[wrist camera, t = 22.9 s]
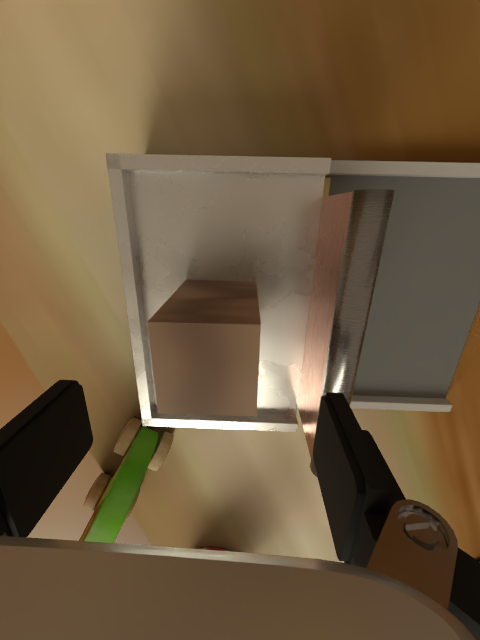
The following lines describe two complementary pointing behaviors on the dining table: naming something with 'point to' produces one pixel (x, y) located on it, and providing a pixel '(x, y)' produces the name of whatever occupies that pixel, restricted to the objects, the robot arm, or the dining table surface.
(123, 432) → the toy lion
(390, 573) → the robot arm
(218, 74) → the dining table surface
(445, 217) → the grey flat rectangular piece
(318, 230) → the grey l-shaped piece
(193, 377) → the walnut block
